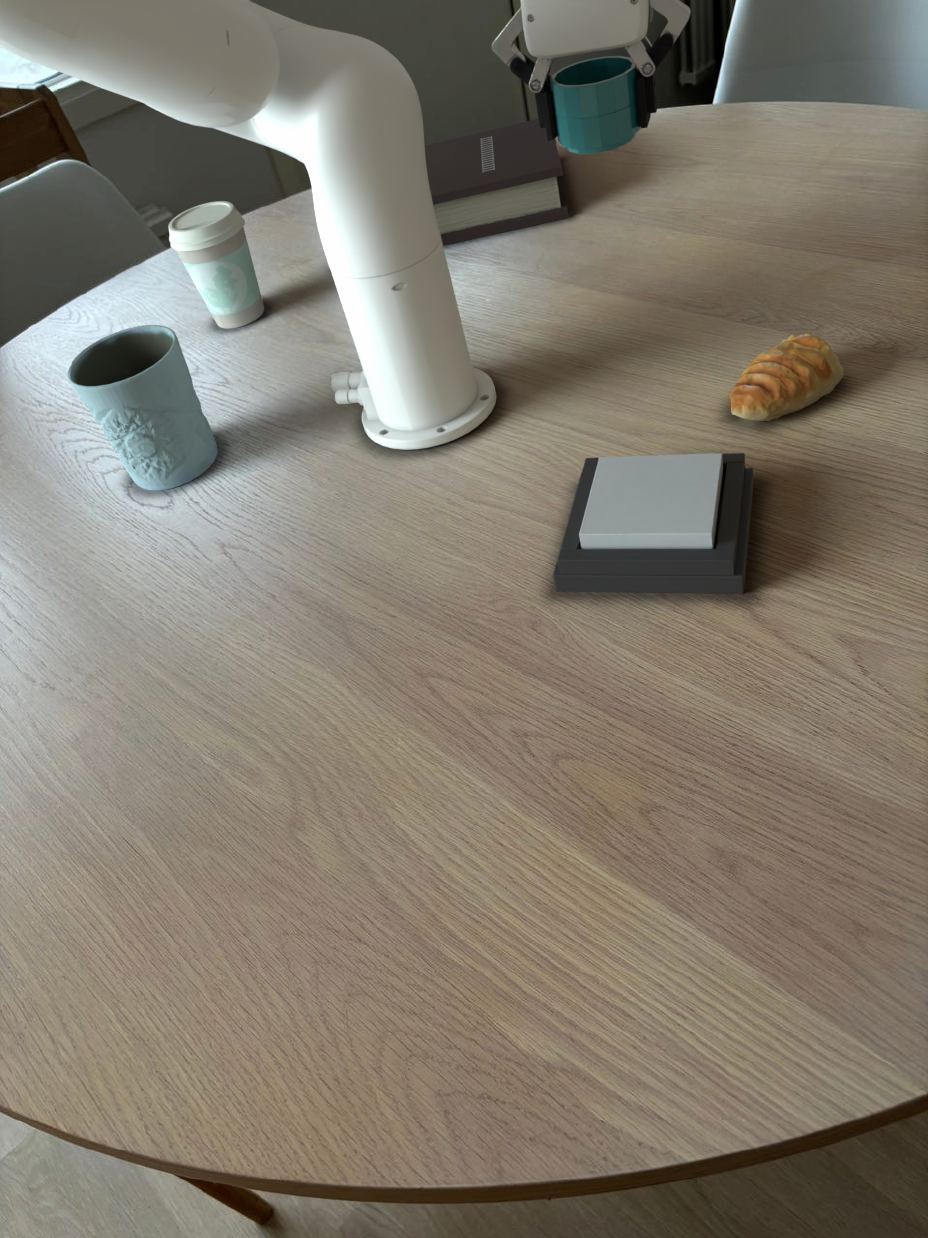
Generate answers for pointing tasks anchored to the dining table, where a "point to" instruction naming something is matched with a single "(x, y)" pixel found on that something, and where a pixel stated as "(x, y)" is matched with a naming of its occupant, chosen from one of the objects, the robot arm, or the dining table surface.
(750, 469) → the scale
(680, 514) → the pan
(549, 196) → the book
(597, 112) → the teal faceted cup
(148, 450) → the embossed blue pot
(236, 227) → the coffee cup
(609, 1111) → the dining table surface
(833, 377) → the pastry
